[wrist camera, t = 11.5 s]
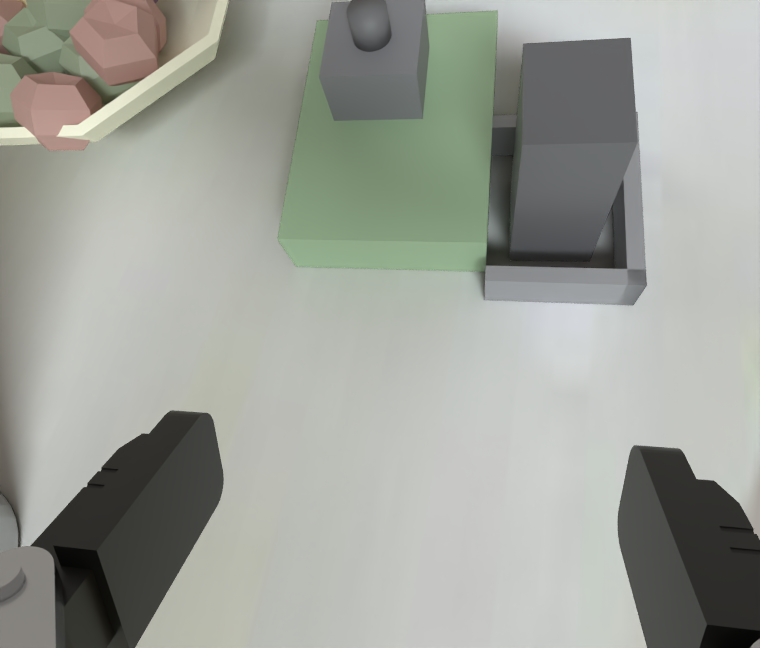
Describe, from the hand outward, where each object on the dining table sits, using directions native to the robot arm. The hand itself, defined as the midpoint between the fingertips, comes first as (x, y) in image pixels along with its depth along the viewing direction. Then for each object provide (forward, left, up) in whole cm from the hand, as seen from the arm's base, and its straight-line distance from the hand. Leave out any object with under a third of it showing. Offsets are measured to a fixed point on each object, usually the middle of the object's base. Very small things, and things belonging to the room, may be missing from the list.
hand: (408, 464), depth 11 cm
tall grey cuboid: (+5, +19, -23) cm, 31 cm away
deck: (-1, +23, -23) cm, 33 cm away
